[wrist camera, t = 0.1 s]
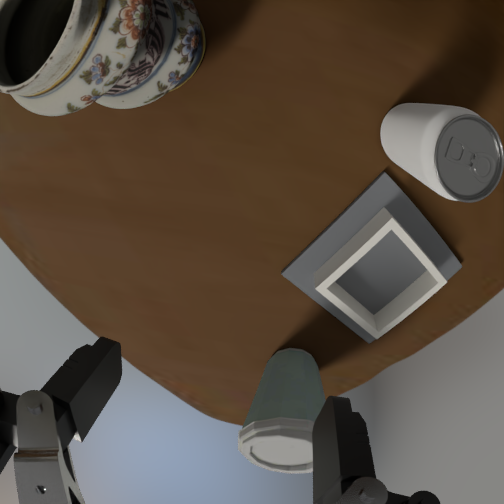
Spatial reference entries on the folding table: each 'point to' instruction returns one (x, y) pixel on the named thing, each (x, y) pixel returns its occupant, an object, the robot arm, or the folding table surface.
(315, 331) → the folding table surface
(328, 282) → the board
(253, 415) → the disposable coffee cup
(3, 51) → the apothecary jar
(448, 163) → the can
